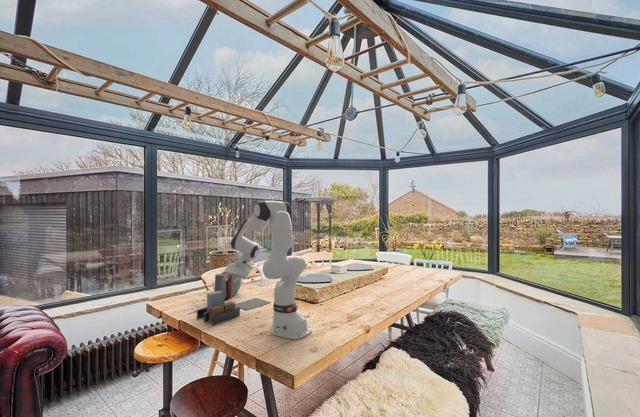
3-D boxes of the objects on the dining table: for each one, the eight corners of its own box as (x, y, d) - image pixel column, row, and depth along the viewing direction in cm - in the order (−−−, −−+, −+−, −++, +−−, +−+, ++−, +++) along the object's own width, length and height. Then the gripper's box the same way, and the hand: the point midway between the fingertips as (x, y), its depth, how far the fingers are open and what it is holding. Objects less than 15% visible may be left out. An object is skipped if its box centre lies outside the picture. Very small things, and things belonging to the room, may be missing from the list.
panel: (222, 314, 179) (222, 291, 180) (210, 318, 173) (210, 294, 173) (218, 313, 182) (218, 290, 182) (207, 316, 176) (207, 293, 176)
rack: (239, 316, 177) (239, 307, 177) (213, 325, 163) (213, 316, 163) (223, 310, 188) (223, 302, 188) (196, 318, 173) (196, 309, 173)
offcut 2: (235, 315, 177) (235, 302, 177) (225, 319, 172) (225, 305, 172) (231, 314, 180) (231, 301, 180) (221, 317, 174) (221, 304, 174)
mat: (270, 302, 203) (270, 302, 203) (247, 310, 187) (247, 309, 187) (255, 298, 212) (255, 297, 212) (232, 305, 197) (232, 304, 197)
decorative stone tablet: (222, 274, 200) (242, 269, 229) (213, 274, 201) (234, 269, 230) (221, 303, 198) (241, 294, 227) (212, 302, 199) (233, 294, 229)
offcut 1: (223, 319, 171) (223, 306, 171) (212, 323, 166) (212, 309, 166) (219, 318, 174) (219, 304, 174) (208, 321, 168) (209, 307, 168)
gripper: (230, 258, 198) (217, 275, 190) (249, 262, 186) (236, 280, 178) (235, 264, 202) (223, 281, 194) (254, 268, 189) (242, 286, 181)
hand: (229, 281), depth 186 cm, fingers open, 8 cm apart
